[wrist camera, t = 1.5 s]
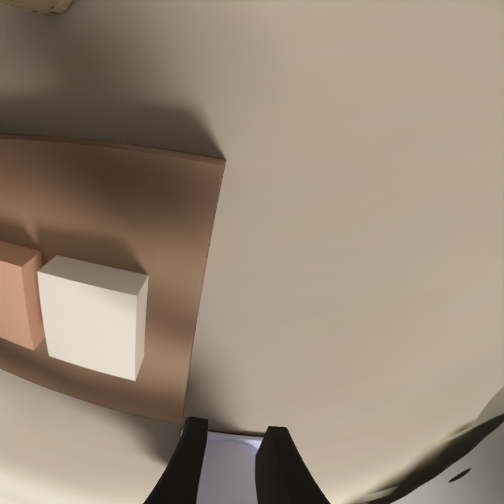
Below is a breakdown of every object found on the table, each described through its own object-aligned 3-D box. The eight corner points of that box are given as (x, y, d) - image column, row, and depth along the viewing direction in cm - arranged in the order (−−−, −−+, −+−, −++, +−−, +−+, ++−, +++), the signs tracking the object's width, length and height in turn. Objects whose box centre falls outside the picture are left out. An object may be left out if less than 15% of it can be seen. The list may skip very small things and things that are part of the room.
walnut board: (186, 393, 21) (181, 424, 18) (10, 343, 19) (-8, 364, 16) (226, 160, 16) (223, 165, 13) (-5, 133, 14) (-35, 137, 11)
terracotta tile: (49, 330, 15) (34, 350, 13) (-10, 308, 15) (-27, 325, 13) (42, 251, 14) (21, 266, 12) (-21, 235, 13) (-42, 247, 11)
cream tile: (144, 356, 16) (135, 381, 14) (63, 335, 15) (48, 355, 14) (148, 275, 14) (137, 295, 12) (57, 255, 14) (37, 271, 12)
